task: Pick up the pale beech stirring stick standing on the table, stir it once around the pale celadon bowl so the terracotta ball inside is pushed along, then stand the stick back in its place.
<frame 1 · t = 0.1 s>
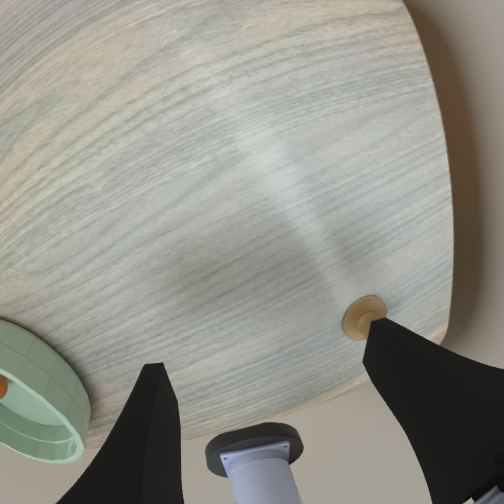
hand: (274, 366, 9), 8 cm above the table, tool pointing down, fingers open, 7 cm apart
stick: (363, 316, 21), on the table
mixing bowl: (21, 379, 17), on the table
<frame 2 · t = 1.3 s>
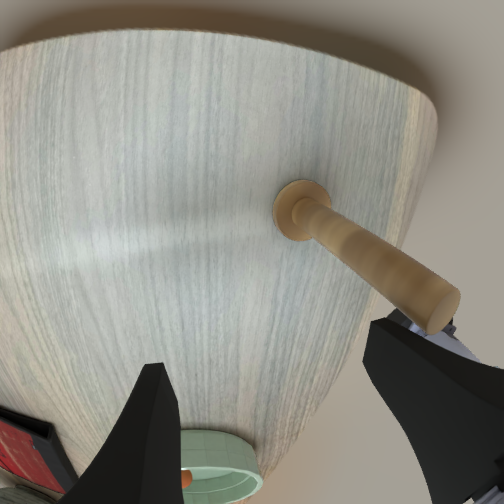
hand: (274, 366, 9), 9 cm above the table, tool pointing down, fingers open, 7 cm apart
stick: (300, 209, 17), on the table, tilted 6°, touching gripper
notebook: (20, 447, 22), on the table
mixing bowl: (194, 457, 26), on the table
bowl: (36, 493, 29), on the table
ball: (178, 476, 24), point 2 cm above the table, touching mixing bowl
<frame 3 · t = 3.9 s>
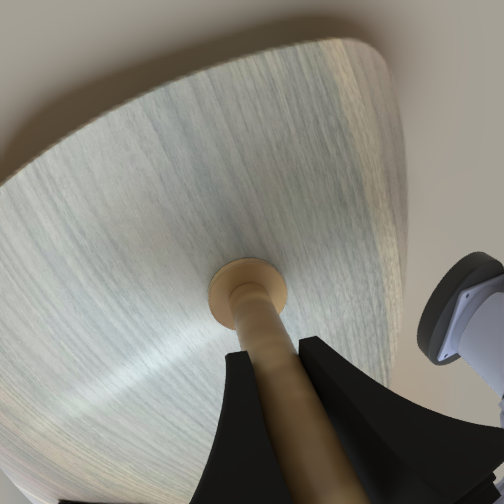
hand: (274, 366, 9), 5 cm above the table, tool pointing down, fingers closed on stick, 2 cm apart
stick: (246, 293, 14), on the table, touching gripper
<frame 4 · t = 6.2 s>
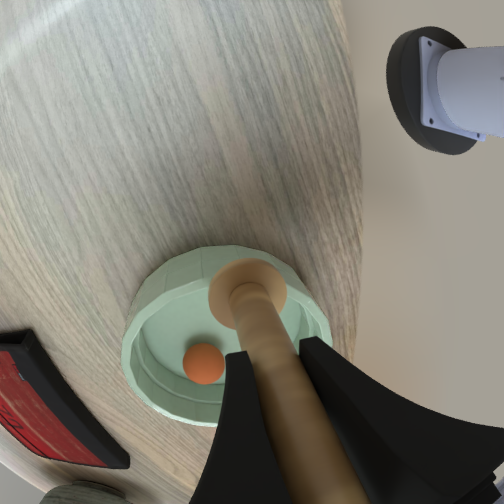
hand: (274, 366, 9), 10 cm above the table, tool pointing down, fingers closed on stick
stick: (246, 292, 14), point 6 cm above the table, touching gripper
notebook: (33, 406, 22), on the table
mixing bowl: (222, 326, 21), on the table
bowl: (98, 488, 32), on the table
ball: (203, 363, 20), point 2 cm above the table, touching mixing bowl
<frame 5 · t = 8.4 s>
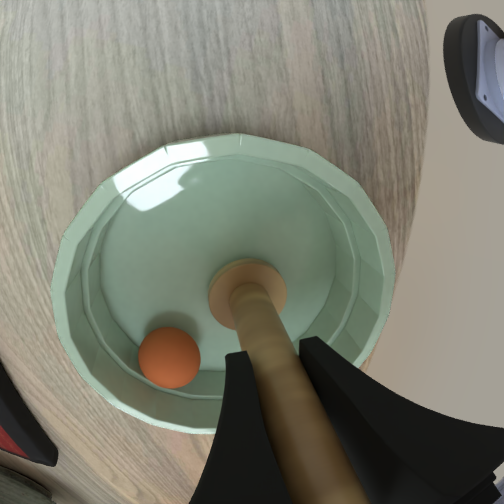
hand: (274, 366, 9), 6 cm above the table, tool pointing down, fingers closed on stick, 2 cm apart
stick: (246, 293, 14), point 1 cm above the table, touching gripper
mixing bowl: (219, 276, 14), on the table
bowl: (22, 479, 21), on the table
ball: (169, 357, 13), point 2 cm above the table, tilted 72°, touching mixing bowl
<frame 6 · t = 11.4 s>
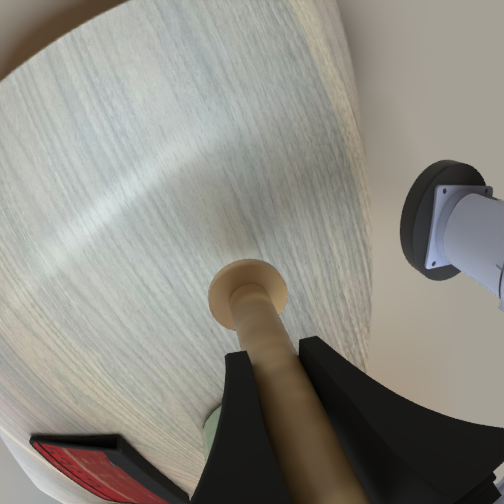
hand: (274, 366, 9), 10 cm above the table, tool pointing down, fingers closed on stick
stick: (246, 293, 14), point 6 cm above the table, touching gripper
notebook: (111, 471, 29), on the table
mixing bowl: (266, 424, 27), on the table
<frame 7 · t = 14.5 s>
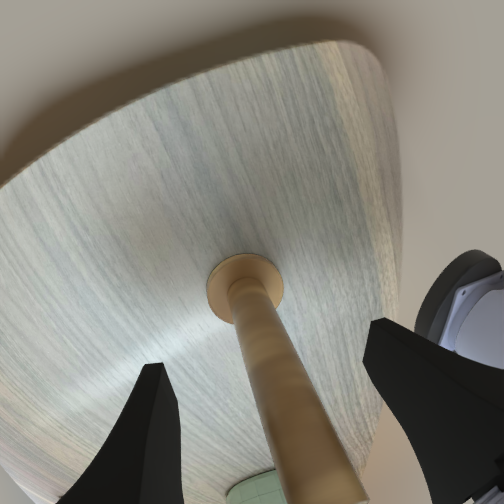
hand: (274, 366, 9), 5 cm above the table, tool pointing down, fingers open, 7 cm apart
stick: (244, 287, 14), on the table
mixing bowl: (282, 486, 26), on the table
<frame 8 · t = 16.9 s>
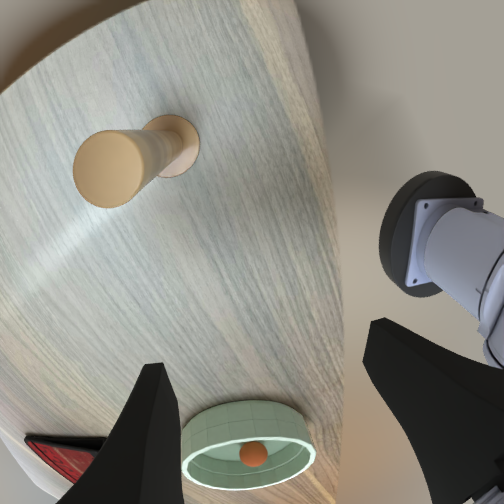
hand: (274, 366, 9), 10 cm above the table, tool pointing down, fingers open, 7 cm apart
stick: (168, 145, 16), on the table
notebook: (101, 471, 30), on the table
mixing bowl: (244, 434, 27), on the table
ball: (253, 454, 26), point 2 cm above the table, tilted 72°, touching mixing bowl
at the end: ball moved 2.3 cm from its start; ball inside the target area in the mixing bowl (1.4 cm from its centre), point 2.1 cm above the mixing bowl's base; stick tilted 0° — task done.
